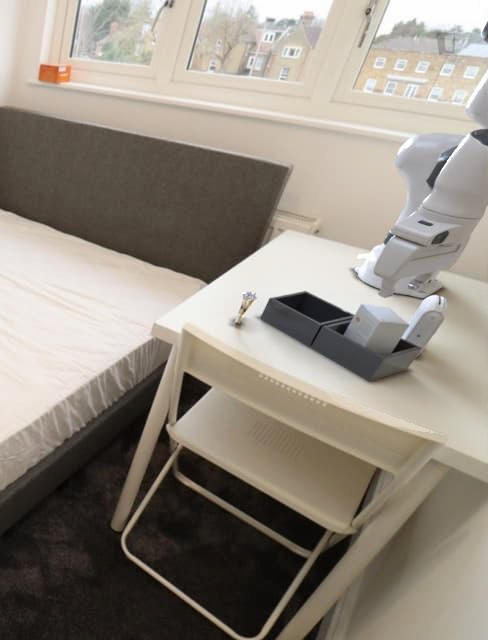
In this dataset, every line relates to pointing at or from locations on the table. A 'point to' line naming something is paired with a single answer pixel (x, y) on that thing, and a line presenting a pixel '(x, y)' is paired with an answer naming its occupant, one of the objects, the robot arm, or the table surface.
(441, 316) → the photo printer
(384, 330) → the small box
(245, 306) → the ring
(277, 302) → the basin
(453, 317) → the table surface
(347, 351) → the basin
